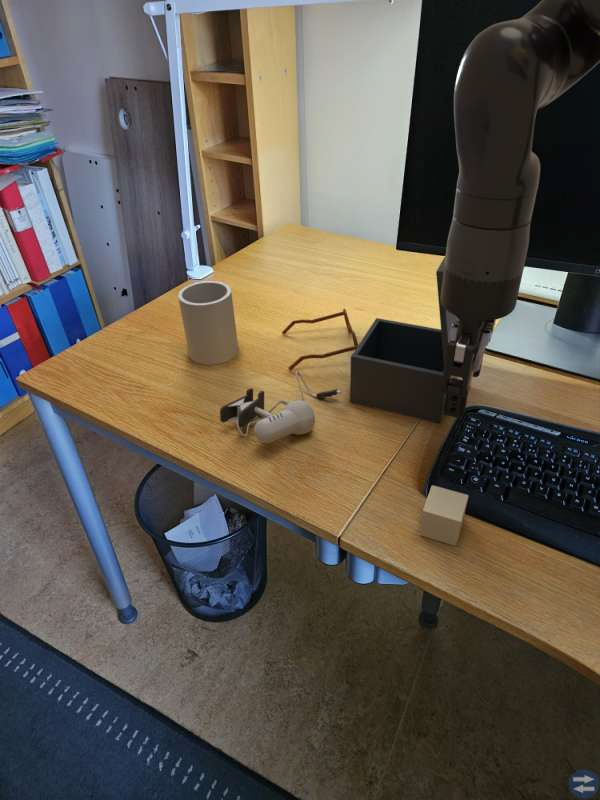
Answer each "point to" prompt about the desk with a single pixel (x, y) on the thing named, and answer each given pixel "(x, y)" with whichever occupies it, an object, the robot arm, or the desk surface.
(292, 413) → the clip-on lamp
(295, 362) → the glasses
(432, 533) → the block
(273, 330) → the desk surface
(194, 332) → the cup
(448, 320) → the box lid
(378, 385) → the box
